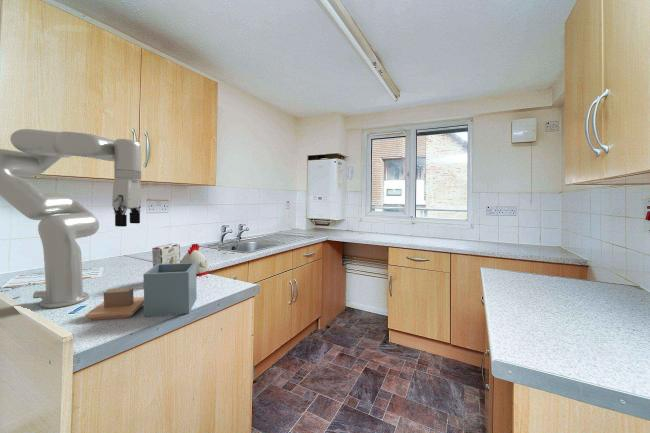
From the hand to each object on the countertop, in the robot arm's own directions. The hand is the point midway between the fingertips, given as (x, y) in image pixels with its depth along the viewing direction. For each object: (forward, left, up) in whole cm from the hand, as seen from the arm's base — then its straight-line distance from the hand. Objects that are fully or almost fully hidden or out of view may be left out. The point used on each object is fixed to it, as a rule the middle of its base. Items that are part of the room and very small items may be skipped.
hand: (128, 224), depth 95 cm
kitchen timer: (+15, +35, -29) cm, 48 cm away
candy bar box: (+6, +24, -29) cm, 38 cm away
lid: (0, -7, -29) cm, 30 cm away
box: (+16, -7, -28) cm, 33 cm away
